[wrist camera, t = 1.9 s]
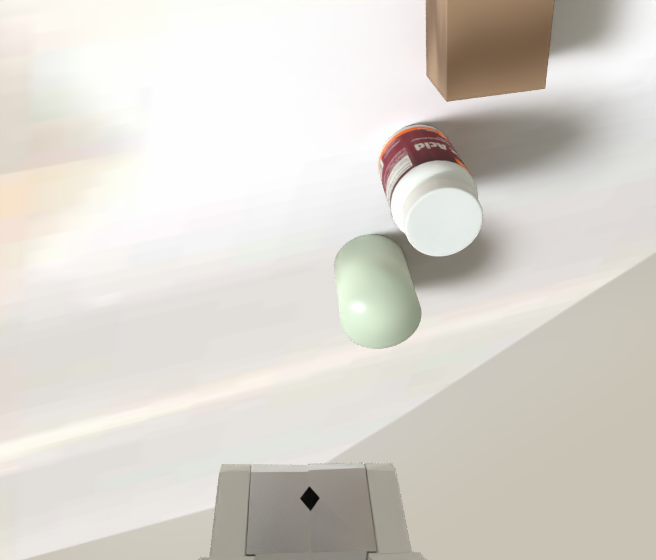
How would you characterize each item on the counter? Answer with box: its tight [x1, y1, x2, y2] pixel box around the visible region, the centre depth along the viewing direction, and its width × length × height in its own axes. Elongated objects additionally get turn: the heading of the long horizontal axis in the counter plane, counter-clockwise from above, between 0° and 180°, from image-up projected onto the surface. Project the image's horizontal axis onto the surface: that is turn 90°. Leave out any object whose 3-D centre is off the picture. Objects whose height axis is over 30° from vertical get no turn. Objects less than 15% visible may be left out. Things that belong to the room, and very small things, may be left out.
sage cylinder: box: [334, 235, 421, 349], centre depth 37 cm, size 5×5×6 cm
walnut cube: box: [426, 0, 554, 102], centre depth 29 cm, size 5×5×5 cm
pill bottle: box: [378, 125, 483, 256], centre depth 32 cm, size 5×5×8 cm
